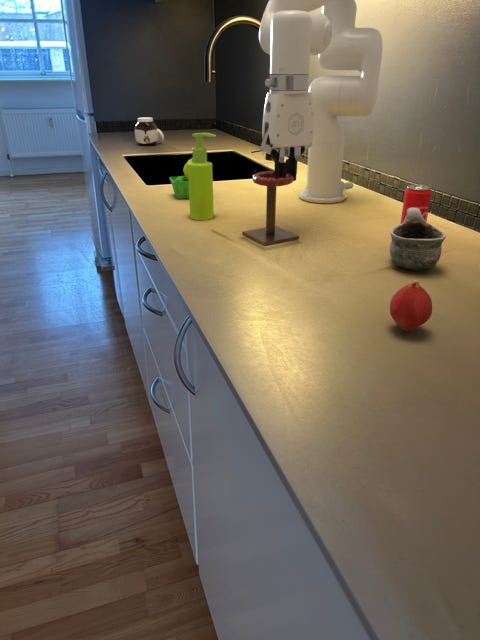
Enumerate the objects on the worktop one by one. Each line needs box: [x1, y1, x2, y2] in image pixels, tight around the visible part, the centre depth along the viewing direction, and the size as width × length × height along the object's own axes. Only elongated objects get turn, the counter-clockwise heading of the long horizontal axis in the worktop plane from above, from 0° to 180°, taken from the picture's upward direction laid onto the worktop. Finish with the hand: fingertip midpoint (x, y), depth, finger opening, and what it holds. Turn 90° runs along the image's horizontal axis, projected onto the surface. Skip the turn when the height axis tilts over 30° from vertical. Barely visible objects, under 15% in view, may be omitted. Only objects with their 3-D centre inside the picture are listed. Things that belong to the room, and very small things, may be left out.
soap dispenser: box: [188, 132, 217, 221], centre depth 124 cm, size 6×7×20 cm
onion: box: [389, 279, 433, 332], centre depth 73 cm, size 6×6×8 cm
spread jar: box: [134, 116, 165, 147], centre depth 236 cm, size 12×11×12 cm
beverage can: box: [399, 184, 432, 225], centre depth 108 cm, size 5×5×12 cm
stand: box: [241, 186, 300, 247], centre depth 109 cm, size 9×9×12 cm
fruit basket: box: [169, 157, 193, 200], centre depth 145 cm, size 11×9×11 cm
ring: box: [252, 170, 294, 187], centre depth 106 cm, size 8×8×2 cm
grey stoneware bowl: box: [389, 208, 447, 271], centre depth 97 cm, size 10×12×10 cm
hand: (285, 179), depth 108 cm, fingers closed on ring, 2 cm apart
